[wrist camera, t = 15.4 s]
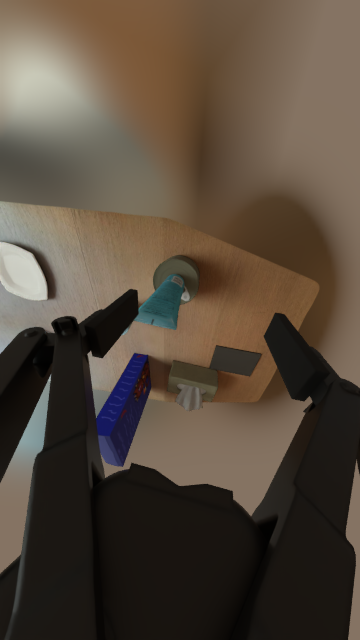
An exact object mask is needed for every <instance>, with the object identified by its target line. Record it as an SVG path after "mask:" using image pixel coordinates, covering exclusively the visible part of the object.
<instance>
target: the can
mask: <svg viewBox="0 0 360 640" xmlns="http://www.w3.org/2000/svg"><path fill="white" fill-rule="evenodd" d="M172 274H177V275H179V276H181V277H182V278H183V280H184V289H183V293H182V297H181V302H180V305H181V304H185V303H187V302H189V301H191V300H192V299H193V298H194V297H195V295H196V294H197V291H198V288H199V278H200V274H199V269H198V267H197V265H196V264H195V262H194V261H193V260H191V259H190V258H188V257H186V256H182V255H177V256H173V257H170V258H169V259H167V260H166V261H164V262H163V263H161V264H160V265H159V266H158V267H157V269H156V270H155V273H154V276H153V285H154V288H155V291H156V290H157V289H158V288H159V287H160V285H161V284H162V283H163V282H164V281H165V280H166V279H167V277H168V276H170V275H172Z"/></svg>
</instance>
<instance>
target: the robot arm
mask: <svg viewBox="0 0 360 640" xmlns="http://www.w3.org/2000/svg"><path fill="white" fill-rule="evenodd" d="M138 314H139V311H138V292H137V290H133V289H129V290H128V291H127V292H126V293H124V294H123V295H122V296H121V297H119V298H118V299H117V300H115V301H114V302H113V303H112V304H110V305H109V306H108V307H107V308H105V309H104V310H102V309H101V310H98V311H96V312H94V313H93V314H92V315H91V316H89V317H88V318H86V319H85V320H84V321H82V322H81V323H80V324H78V323H77V319H76V318H75V317H73V316H64V317H60V318H58V319H55V320H54V321H53V322H52V323H51V324H52V327H53V329H54V332H55V333H46V332H45V330H44V329H43V328H41V327H33V328H29V329H25V330H24V331H22V332H20V333H19V334H18V335H17V336H16V337H15V338H14V339H13V340H12V342H11V343H10V344H9V345H8V346H7V347H6V348H5V349H4V351H3V352H2V353H1V354H0V482H1V480H2V478H3V476H4V474H5V472H6V470H7V468H8V465H9V463H10V461H11V459H12V457H13V455H14V452H15V450H16V448H17V446H18V444H19V441H20V439H21V437H22V435H23V433H24V430H25V429H26V427H27V424H28V422H29V420H30V418H31V416H32V414H33V412H34V409H35V407H36V405H37V403H38V401H39V399H40V396H41V394H42V392H43V390H44V388H45V386H46V383H47V381H48V379H49V377H50V375H51V383H50V393H49V401H48V411H47V420H46V429H45V438H44V446H43V449H42V451H41V452H40V453H38V454H37V457H36V459H35V463H34V466H33V473H32V480H31V487H30V495H29V502H28V510H27V516H26V523H25V531H24V538H23V545H22V552H21V555H20V556H19V557H18V558H17V559H16V560H15V561H13V562H12V563H11V564H10V565H9V566H8V567H7V568H6V569H5V570H4V571H3V572H2V573H1V574H0V640H348V635H349V625H350V615H351V606H352V596H353V586H354V577H355V567H356V554H355V551H354V548H353V546H352V545H351V544H350V542H349V541H348V540H347V538H346V525H347V518H348V512H349V505H350V498H351V491H352V485H353V478H354V472H355V465H356V459H357V463H358V469H359V474H360V388H359V387H358V386H356V385H355V384H353V383H352V382H350V381H347V380H345V379H341V378H340V377H339V376H338V375H337V373H336V372H335V371H334V370H333V369H332V367H331V366H330V365H329V364H328V363H327V361H326V360H325V359H324V358H323V356H322V355H321V354H320V353H319V352H318V351H317V350H316V349H314V348H313V347H310V346H309V345H308V344H307V343H306V341H305V340H304V339H303V337H302V336H301V335H300V334H299V332H298V331H297V330H296V329H295V327H294V326H293V325H292V323H291V322H290V321H289V320H288V318H287V317H286V316H285V315H284V314H280V313H275V314H274V317H273V319H272V321H271V323H270V325H269V327H268V329H267V331H266V333H265V335H264V338H265V340H266V343H267V345H268V347H269V349H270V352H271V354H272V356H273V358H274V361H275V363H276V365H277V367H278V369H279V372H280V374H281V376H282V378H283V381H284V383H285V385H286V387H287V389H288V392H289V394H290V396H291V398H292V399H295V400H300V401H305V400H306V399H307V398H308V397H309V396H310V397H311V399H312V401H313V402H312V403H311V404H310V405H309V406H308V407H307V408H306V409H305V410H304V411H303V412H305V415H304V417H303V420H302V421H301V424H300V426H299V428H298V430H297V432H296V434H295V436H294V438H293V440H292V442H291V444H290V446H289V448H288V450H287V452H286V454H285V456H284V458H283V460H282V462H281V464H280V466H279V468H278V470H277V472H276V475H275V476H274V478H273V480H272V482H271V484H270V487H269V489H268V491H267V493H266V495H265V497H264V499H263V500H262V502H261V503H260V505H259V506H258V507H257V508H256V510H255V511H254V513H253V514H252V516H250V515H249V514H248V512H247V511H246V510H245V509H244V508H243V507H242V506H241V505H239V504H238V503H237V502H236V501H235V500H233V491H230V490H227V489H223V488H220V487H216V486H213V485H209V484H199V485H189V486H178V485H176V484H175V483H174V482H172V481H171V480H169V479H168V478H166V477H165V476H164V475H162V474H161V473H159V472H158V471H156V470H155V469H152V468H148V467H145V466H141V465H138V464H134V463H131V466H130V469H127V470H122V471H118V472H116V473H114V474H112V475H110V476H108V477H106V478H105V475H104V468H103V464H102V459H101V454H100V447H99V439H98V431H97V423H96V415H95V407H94V399H93V391H92V383H91V375H90V367H89V359H88V355H87V354H88V353H89V352H90V351H91V352H92V356H94V357H99V358H103V357H104V356H105V354H106V353H107V352H108V351H109V350H110V348H111V347H112V346H113V345H114V344H115V342H116V341H117V340H118V339H119V337H120V336H121V335H122V334H123V333H124V331H125V330H126V329H127V328H128V327H129V325H130V324H131V323H132V322H133V320H134V319H135V318H136V317H137V316H138Z"/></svg>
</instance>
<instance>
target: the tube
mask: <svg viewBox="0 0 360 640" xmlns="http://www.w3.org/2000/svg"><path fill="white" fill-rule="evenodd" d="M183 289H184V280H183V278H182V277H181V276H179V275H177V274H172V275H170V276H168V277H167V279H166V280H165V281H164V282H163V283H162V284H161V285H160V287H159V288H158V289H157V290H156V291H155V292H154V293H153V294H152V295H151V296H150V297H149V299H148V300H147V301H146V302H145V303H144V304H143V305H142V306H141V307H140V308H139V309H138V311H139V314H138V316H137V317H136V318H135V319H134V321H138V322H142V323H146V324H151V325H155V326H159V327H163V328H169V329H173V330H176V328H177V318H178V311H179V306H180V302H181V297H182V293H183Z"/></svg>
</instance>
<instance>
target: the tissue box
mask: <svg viewBox="0 0 360 640" xmlns="http://www.w3.org/2000/svg"><path fill="white" fill-rule="evenodd" d="M217 389H218V376H217V370H213V369H209V368H204V367H200V366H196V365H191V364H187V363H182V362H178V361H173V364H172V367H171V371H170V375H169V381H168V387H167V392H172V393H176V394H178V396H177V398H176V402H177V403H178V404H179V405H181V406H183V407H184V409H185V410H187V411H191V410H194V409H200V408H202V407H203V406H202V400H205V401H209V402H212V400H213V398H214V395H215V393H216V391H217Z"/></svg>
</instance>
